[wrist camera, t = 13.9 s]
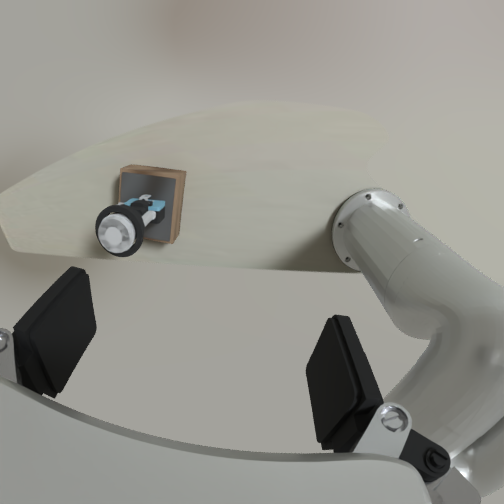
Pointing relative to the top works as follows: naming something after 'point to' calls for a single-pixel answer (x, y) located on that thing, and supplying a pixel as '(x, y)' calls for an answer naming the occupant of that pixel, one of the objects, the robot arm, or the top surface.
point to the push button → (127, 224)
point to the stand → (156, 196)
